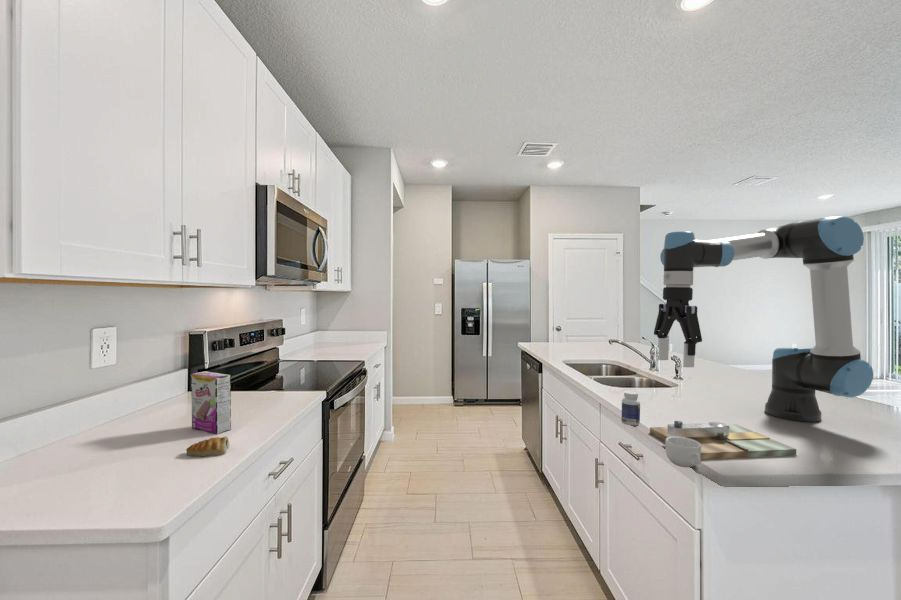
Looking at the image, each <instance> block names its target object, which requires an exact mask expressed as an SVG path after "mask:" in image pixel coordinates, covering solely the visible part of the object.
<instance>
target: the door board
mask: <svg viewBox="0 0 901 600" xmlns="http://www.w3.org/2000/svg"><path fill="white" fill-rule="evenodd" d="M728 425H729V436H728V437H718V436H712V437H685V438H689V439H692V440H695V441H697V442H699V443H700V444H701V455H700V458H701V460H716V459H719V460H720V459H734V458H735V459H739V458H740V459H742V458H760V457H761V458H765V457H789V456H797V448H795V447H792V446H791V445H788V444H785V443H782V442H780V441H778V440H775V439H773V438H771V437H769V436H766V435H764V434H762V433H760V432H757V431H753V430H751V429H748V428H746V427H743V426H741V425H739V424H728ZM667 429H668V426H652V427H649V434H651V435H653V436H655V437H657V438H658V439H660V440H661V441H664V442H665V441H666V438H667V437H673V436H671V435H669V434H668V433H667Z"/></svg>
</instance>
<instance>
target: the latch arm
mask: <svg viewBox="0 0 901 600" xmlns="http://www.w3.org/2000/svg"><path fill="white" fill-rule="evenodd" d="M729 425H730V424H725V423H723V422H717V421H710V422H707V423H706V422H705V423H703V422H701V423H698V422H697V423H684V422H683V421H680V420H675V421H674V424H673V423H671V424H670V423H669V424H667V427H668V429H667V433H668V434H669V435H671V436H676V437H712V436H718V437H728V436H729Z"/></svg>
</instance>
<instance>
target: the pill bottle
mask: <svg viewBox="0 0 901 600" xmlns="http://www.w3.org/2000/svg"><path fill="white" fill-rule="evenodd" d="M623 394H624V395H623V397H624V398H622V400H621V417H620V418H621V423H622V424H624V425H626V426H638V425H640V424H641V418H640V417H641V401H640V399H638V398H639V393H638V392H636V391H632V390H631V391H630V390H628V391H627V390H626V391H624V392H623Z"/></svg>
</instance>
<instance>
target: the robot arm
mask: <svg viewBox="0 0 901 600" xmlns="http://www.w3.org/2000/svg"><path fill="white" fill-rule="evenodd" d="M863 232H864V231H863V229H862V228H861V226H860V225H859V223H858V222H856V221H855V220H854V219H853V218H851V217H848V216H844V215H839V216H838V215H837V216H826V217H821V218H820V217H819V218H814V219H808V220H802V221H796V222H790V223H787V224H783V225H780V226H779V225H778V226H775V227H772V228H767V229H761V230H759V231H757V232H756V233H751V234H744V235H737V236H729V237H723V238H716V239H706V240H705V239H696V237H695V233H694V232H693V231H688V230H687V231H685V230H684V231H682V230H681V231H679V230H678V231H672V232H668V233H666V234H665V237H664V243H663V249H662V250H661V253H660V257H659V259H660V262H661V264H662V265H663V275H662V276H663V286H665V287H663V288H662V299H663V300H664V301H666V302H665V303H659V304H658V312H657V313H658V314H657V317H656V322H655V325H654V326H655V327H654V331H653V335H654V336H656V337H657V338H658V346H657V347H658V357H657V359H658V361H669V350H670V349H669V347H670V345H669V344H670V342H669V341H670V336H669V333H670V331H671V329H672V327H673V325H674V323H675V321H677V322H678V323H679V326H680V328H681V331H682V334H683V337H684V340H685V341H684V342H683V359H682V360H683V361H682V362H683V365H682V367H683V368H695V355H696V348H697V344H698V343H702V342H703V338H702V337H703V336H702V333H701V332H702V331H701V328H700V323H699V318H698V317H699V316H698V306H697V305H690V304H689V302H690V301H692V300H693V296H694V295H693V291H694V290H693V287H691V286H693V285H694V268H704V267H705V268H706V267H707V268H708V267H712V268H713V267H714V268H719V267H721V268H722V267H727V266H729V265H730V264H732V261H739V260H745V259H753V258H758V257H759V258H761V259H765V260H768V259H774V258H776V259H778V258H779V259H783V258H784V259H786V258H787V259H802V265H803V266H805V267H806V268H808V270H809V275H810V277H809V278H810V288H811V300H812V311H813V312H812V315H813V327H814V328H813V330H814V339H815V341H814V342H815V346H813V347H778V348H775V350H774V351H773V354H772V361H771V365H772V366H771V368H772V369H771V372H772V373H771V391H770V393H769V396H768V398H767V401H766V402H765V404H764V412H765V413H766V414H768V415H770V416H774V417H777V418H781V419H784V420H785V419H786V420H791V421H798V422H809V423H810V422H813V423H814V422H815V423H816V422H820V421H821V420H822V415H823V414H822V411H821V410H820V407H819V403H818V400H817V396H816V391H817V392H823V393H827V394H829V395H830V394H831V395H833V396H836V397H845V398H856V397H859V396H861V395H863V394H864V393H865V392H866V391H867V390H868V389H869V388H870V386H871V385H872V382H873V379H874V370H873V367H872V365H870V363H869V362H868V361H866V360H863V359H862V358H861V357H862V355H861V351H860V350H859V349H858V348H857V347H855V346H854V343H853V342H854V341H853V340H854V339H853V329H852V328H853V327H852V315H851V314H852V313H851V304H850V303H851V300H850V299H851V298H850V288H849V286H850V285H849V274H848V273H849V272H848V267H849V265H850V264H851V263H853V262H854V260H855V259H854V255H855V254H857V253H859V252H860V251H861V249H862V246H863V245H864V240H865V238H864V233H863Z"/></svg>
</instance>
